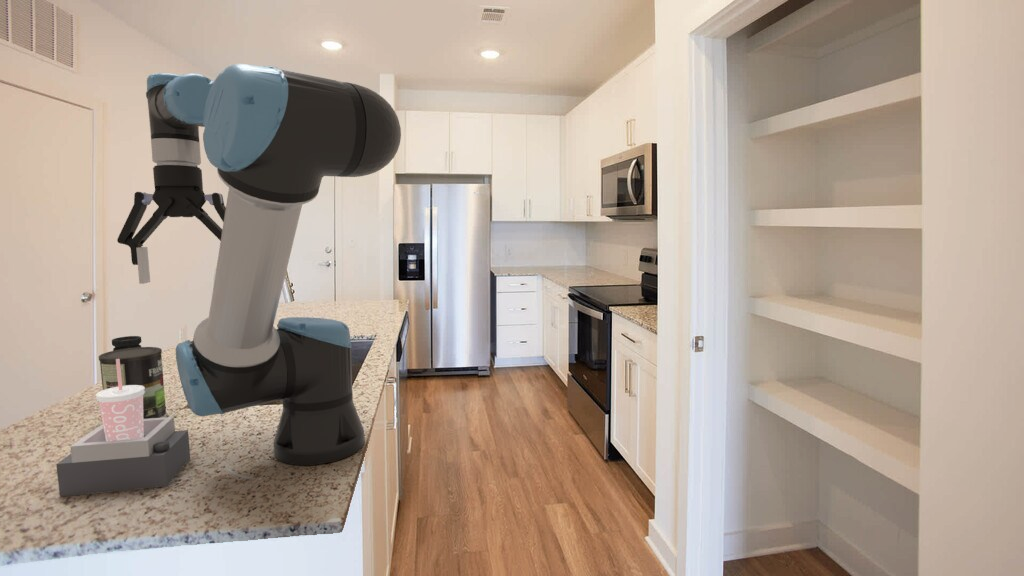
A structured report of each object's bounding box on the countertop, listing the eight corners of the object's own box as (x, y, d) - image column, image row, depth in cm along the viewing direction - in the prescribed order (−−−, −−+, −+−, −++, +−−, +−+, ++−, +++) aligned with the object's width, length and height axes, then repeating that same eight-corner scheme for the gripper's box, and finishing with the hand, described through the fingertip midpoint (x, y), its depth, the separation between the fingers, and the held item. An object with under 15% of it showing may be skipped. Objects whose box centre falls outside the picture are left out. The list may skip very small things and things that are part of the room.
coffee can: (173, 409, 115) (168, 344, 114) (158, 426, 106) (152, 356, 104) (117, 414, 112) (110, 348, 111) (95, 432, 103) (88, 360, 101)
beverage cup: (93, 456, 80) (84, 365, 79) (111, 440, 86) (103, 355, 84) (140, 452, 82) (132, 362, 80) (155, 436, 88) (148, 353, 86)
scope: (109, 345, 114) (99, 338, 121) (115, 408, 116) (105, 398, 122) (154, 339, 120) (142, 333, 127) (159, 399, 121) (147, 390, 128)
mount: (190, 458, 91) (186, 413, 90) (166, 486, 82) (162, 436, 81) (96, 466, 88) (91, 420, 87) (59, 496, 79) (54, 445, 78)
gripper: (256, 169, 104) (262, 278, 107) (108, 165, 98) (119, 281, 101) (247, 165, 97) (254, 282, 99) (87, 161, 91) (98, 286, 94)
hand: (186, 282), depth 100 cm, fingers open, 13 cm apart
